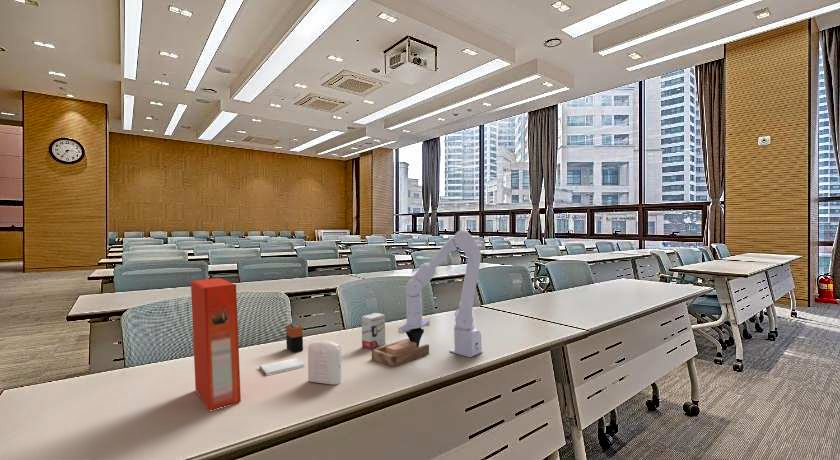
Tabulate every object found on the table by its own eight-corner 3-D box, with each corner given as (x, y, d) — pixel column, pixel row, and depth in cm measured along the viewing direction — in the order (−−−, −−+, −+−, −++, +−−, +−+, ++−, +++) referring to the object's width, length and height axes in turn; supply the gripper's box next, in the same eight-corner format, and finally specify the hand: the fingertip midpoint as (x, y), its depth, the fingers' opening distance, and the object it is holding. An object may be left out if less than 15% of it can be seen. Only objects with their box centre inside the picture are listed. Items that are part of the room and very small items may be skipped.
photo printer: (343, 380, 120) (342, 340, 120) (336, 386, 116) (335, 344, 116) (314, 377, 123) (313, 337, 123) (306, 382, 119) (305, 341, 119)
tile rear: (416, 353, 143) (416, 342, 143) (406, 357, 139) (406, 346, 139) (407, 350, 147) (406, 340, 146) (397, 354, 143) (396, 343, 143)
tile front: (406, 357, 139) (406, 346, 139) (396, 361, 136) (396, 350, 136) (397, 354, 143) (396, 343, 143) (386, 358, 139) (386, 347, 139)
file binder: (207, 412, 102) (203, 287, 101) (194, 390, 115) (190, 280, 114) (240, 402, 107) (237, 284, 106) (224, 383, 120) (221, 277, 119)
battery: (297, 346, 155) (297, 320, 154) (303, 350, 149) (302, 324, 149) (286, 348, 152) (285, 322, 152) (291, 353, 146) (291, 326, 146)
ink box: (370, 349, 149) (369, 318, 149) (361, 347, 152) (360, 316, 152) (386, 343, 156) (385, 313, 155) (376, 341, 159) (376, 312, 158)
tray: (429, 353, 143) (428, 344, 143) (393, 366, 131) (393, 357, 131) (407, 347, 151) (406, 338, 151) (371, 358, 139) (371, 349, 139)
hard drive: (265, 372, 125) (304, 363, 132) (259, 365, 132) (296, 356, 139) (266, 377, 125) (304, 368, 132) (259, 370, 132) (296, 361, 139)
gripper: (420, 307, 154) (420, 342, 154) (392, 314, 143) (393, 351, 143) (433, 309, 149) (434, 345, 149) (405, 317, 138) (406, 355, 139)
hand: (414, 348), depth 146 cm, fingers closed
